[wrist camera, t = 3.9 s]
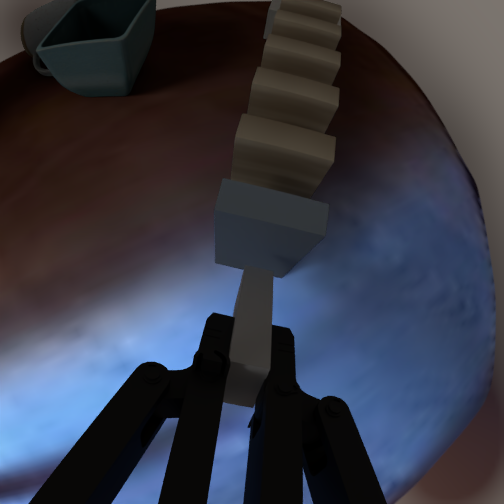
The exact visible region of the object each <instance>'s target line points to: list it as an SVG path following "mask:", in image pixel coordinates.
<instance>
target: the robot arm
mask: <svg viewBox="0 0 504 504" xmlns="http://www.w3.org/2000/svg"><path fill="white" fill-rule="evenodd" d="M272 305H273V271H270V270H265V269H261V268H257V267H252V266H248V265H245V267H244V271H243V275H242V279H241V283H240V287H239V291H238V295H237V299H236V303H235V307H234V313H233V317H231V316H227V315H222V314H218V313H214V312H213V313H212V314H211V315H210V316H209V317H208V318H207V320H206V324H205V327H204V331H203V335H202V338H201V342H200V345H199V349H198V351H197V352H196V353H195V355H194V359H193V364H192V365H191V366H190V367H188V368H186V369H183V370H168V369H167V368H166V367H165V366H163V365H162V364H160V363H157V362H146V363H142V364H141V365H139V366H138V367H137V368H136V369H135V371H134V372H133V373H132V374H131V375H130V377H129V378H128V379H127V380H126V382H125V383H124V384H123V385H122V386H121V388H120V389H119V390H118V391H117V393H116V394H115V395H114V396H113V398H112V399H111V400H110V401H109V403H108V404H107V405H106V406H105V407H104V409H103V410H102V411H101V412H100V414H99V415H98V416H97V417H96V419H95V420H94V421H93V422H92V424H91V425H90V426H89V427H88V429H87V430H86V431H85V432H84V434H83V435H82V436H81V437H80V439H79V440H78V441H77V442H76V444H75V445H74V446H73V447H72V449H71V450H70V451H69V452H68V454H67V455H66V456H65V458H64V459H63V460H62V461H61V463H60V464H59V465H58V466H57V468H56V469H55V470H54V472H53V473H52V474H51V475H50V477H49V478H48V479H47V480H46V482H45V483H44V484H43V486H42V487H41V488H40V489H39V491H38V492H37V493H36V495H35V496H34V497H33V498H32V500H31V501H30V502H29V504H111V503H112V502H113V500H114V499H115V497H116V496H117V494H118V493H119V491H120V490H121V488H122V487H123V485H124V484H125V482H126V481H127V479H128V478H129V476H130V474H131V473H132V471H133V470H134V468H135V467H136V465H137V464H138V462H139V461H140V459H141V458H142V456H143V454H144V453H145V451H146V450H147V448H148V447H149V445H150V444H151V442H152V440H153V439H154V437H155V436H156V434H157V433H158V431H159V430H160V428H161V426H162V425H163V423H164V422H165V420H166V419H167V418H179V420H178V424H177V428H176V432H175V436H174V440H173V444H172V448H171V452H170V456H169V460H168V464H167V468H166V473H165V477H164V481H163V485H162V489H161V494H160V498H159V502H158V504H207V499H208V492H209V486H210V480H211V473H212V467H213V461H214V454H215V448H216V442H217V436H218V429H219V423H220V417H221V411H222V405H223V402H225V403H229V404H235V405H240V406H245V407H251V408H253V407H254V404H255V412H254V414H253V416H252V418H251V420H250V422H249V425H248V428H250V427H251V431H250V441H249V452H248V462H247V472H246V482H245V492H244V502H243V504H303V469H304V473H305V477H306V480H307V484H308V487H309V491H310V494H311V498H312V501H313V504H387V503H386V500H385V498H384V495H383V492H382V490H381V487H380V485H379V482H378V479H377V477H376V474H375V472H374V469H373V467H372V464H371V462H370V459H369V457H368V454H367V452H366V449H365V447H364V444H363V442H362V439H361V437H360V434H359V432H358V429H357V427H356V424H355V422H354V419H353V417H352V415H351V412H350V410H349V407H348V406H347V404H346V403H345V402H344V401H343V400H342V399H340V398H338V397H335V396H327V397H323V398H322V399H321V400H320V399H317V398H315V397H312V396H310V395H308V394H306V393H305V392H303V391H302V390H301V389H300V386H299V385H298V383H297V382H296V371H295V347H294V346H295V345H294V336H293V334H292V332H291V330H290V328H286V327H281V326H276V325H272Z"/></svg>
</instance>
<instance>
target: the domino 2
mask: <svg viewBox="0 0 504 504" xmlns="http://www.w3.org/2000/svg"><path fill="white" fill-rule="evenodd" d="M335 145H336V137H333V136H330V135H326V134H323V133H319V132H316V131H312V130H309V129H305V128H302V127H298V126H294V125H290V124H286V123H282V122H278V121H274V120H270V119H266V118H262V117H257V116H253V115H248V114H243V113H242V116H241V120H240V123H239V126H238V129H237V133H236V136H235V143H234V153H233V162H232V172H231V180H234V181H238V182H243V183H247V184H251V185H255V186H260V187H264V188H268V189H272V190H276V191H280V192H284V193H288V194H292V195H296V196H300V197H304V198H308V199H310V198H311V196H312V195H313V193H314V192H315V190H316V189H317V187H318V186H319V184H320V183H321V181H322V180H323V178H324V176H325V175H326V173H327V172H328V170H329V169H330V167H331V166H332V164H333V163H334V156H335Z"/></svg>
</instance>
